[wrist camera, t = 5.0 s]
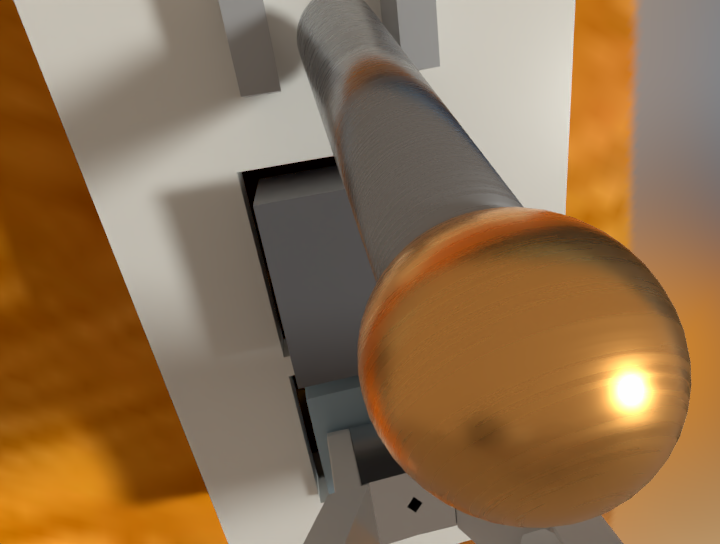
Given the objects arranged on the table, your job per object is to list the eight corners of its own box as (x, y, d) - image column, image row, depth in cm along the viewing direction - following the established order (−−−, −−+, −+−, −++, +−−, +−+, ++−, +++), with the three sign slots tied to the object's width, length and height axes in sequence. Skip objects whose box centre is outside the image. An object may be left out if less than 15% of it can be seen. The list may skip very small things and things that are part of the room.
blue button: (433, 411, 13) (464, 475, 11) (323, 439, 13) (332, 509, 10) (424, 314, 12) (457, 364, 10) (300, 341, 11) (305, 399, 9)
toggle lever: (387, 76, 7) (670, 515, 3) (283, 92, 7) (401, 592, 3) (387, -53, 6) (925, 381, 1) (259, -38, 6) (414, 523, 1)
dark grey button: (433, 294, 10) (476, 347, 8) (293, 325, 10) (298, 389, 8) (421, 150, 9) (468, 166, 7) (258, 178, 9) (253, 206, 6)
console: (490, 425, 17) (571, 548, 12) (257, 484, 16) (249, 643, 11) (475, -88, 10) (633, -237, 6) (84, -43, 9) (-101, -180, 5)
